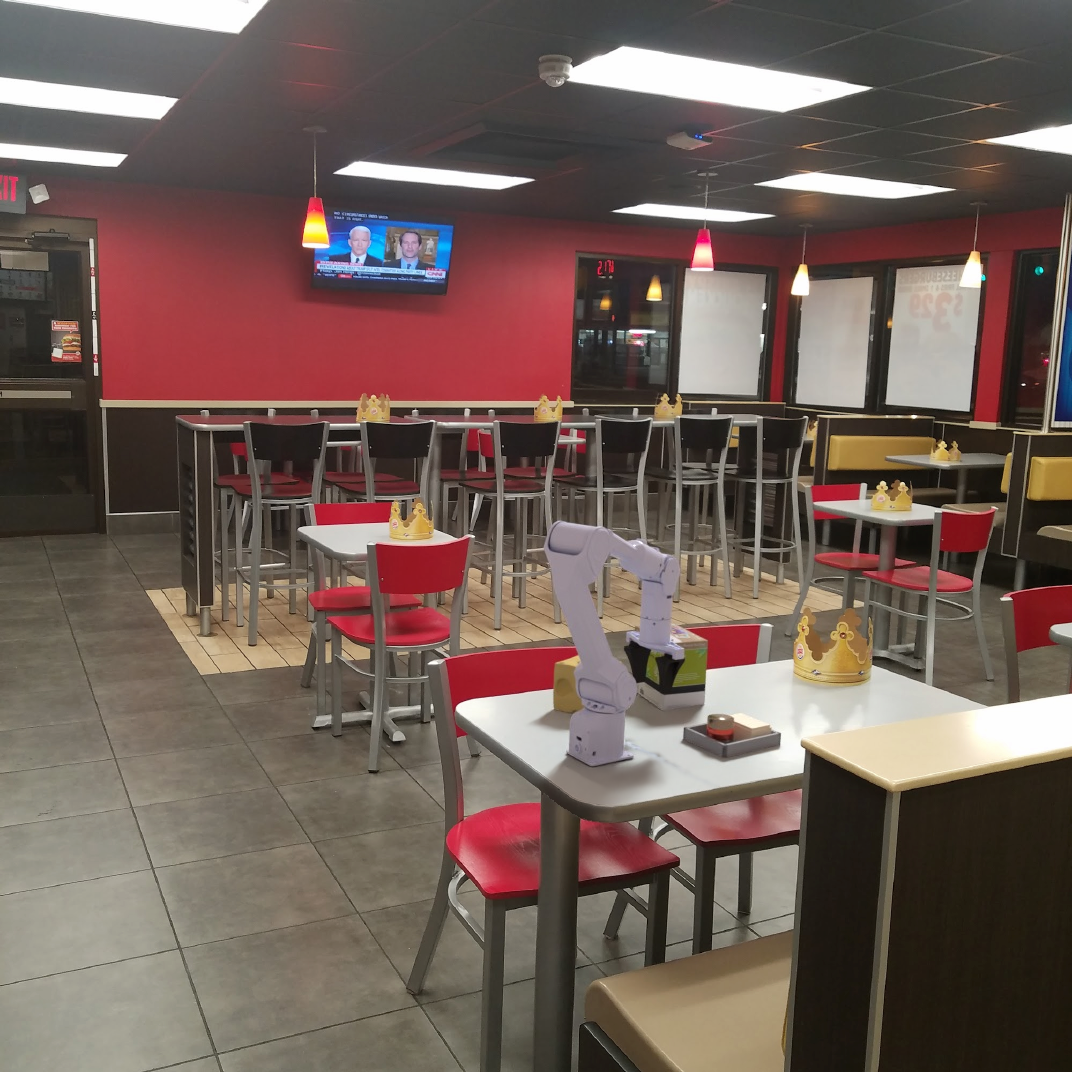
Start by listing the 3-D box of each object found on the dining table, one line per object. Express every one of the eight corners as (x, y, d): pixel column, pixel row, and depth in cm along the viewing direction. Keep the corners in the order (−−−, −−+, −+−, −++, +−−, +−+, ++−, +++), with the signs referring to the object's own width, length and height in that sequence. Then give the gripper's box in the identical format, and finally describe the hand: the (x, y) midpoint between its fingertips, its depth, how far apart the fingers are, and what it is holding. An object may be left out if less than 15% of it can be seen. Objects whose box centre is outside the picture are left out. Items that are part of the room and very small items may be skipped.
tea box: (630, 691, 226) (633, 624, 224) (671, 687, 229) (675, 621, 227) (662, 712, 212) (666, 641, 210) (706, 708, 215) (710, 638, 213)
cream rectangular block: (750, 747, 191) (752, 729, 190) (720, 734, 197) (721, 716, 197) (770, 743, 193) (771, 724, 193) (739, 730, 200) (740, 712, 200)
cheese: (593, 721, 205) (595, 671, 204) (549, 709, 212) (551, 661, 210) (622, 708, 214) (624, 661, 212) (578, 697, 220) (580, 651, 218)
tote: (724, 761, 185) (725, 745, 185) (682, 742, 194) (683, 727, 194) (780, 748, 193) (781, 733, 192) (737, 731, 202) (738, 716, 201)
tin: (719, 750, 188) (720, 723, 188) (700, 742, 192) (701, 716, 192) (738, 745, 191) (740, 719, 191) (719, 738, 195) (720, 712, 195)
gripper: (698, 623, 190) (694, 695, 192) (647, 607, 202) (644, 675, 204) (668, 627, 186) (664, 700, 188) (618, 610, 198) (615, 679, 200)
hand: (652, 687), depth 196 cm, fingers open, 7 cm apart
